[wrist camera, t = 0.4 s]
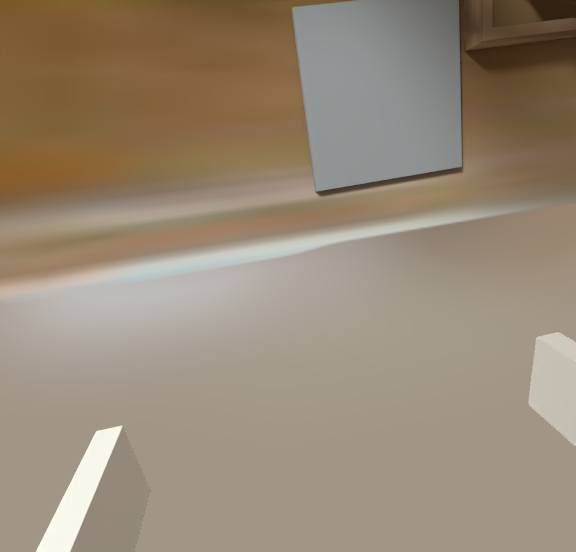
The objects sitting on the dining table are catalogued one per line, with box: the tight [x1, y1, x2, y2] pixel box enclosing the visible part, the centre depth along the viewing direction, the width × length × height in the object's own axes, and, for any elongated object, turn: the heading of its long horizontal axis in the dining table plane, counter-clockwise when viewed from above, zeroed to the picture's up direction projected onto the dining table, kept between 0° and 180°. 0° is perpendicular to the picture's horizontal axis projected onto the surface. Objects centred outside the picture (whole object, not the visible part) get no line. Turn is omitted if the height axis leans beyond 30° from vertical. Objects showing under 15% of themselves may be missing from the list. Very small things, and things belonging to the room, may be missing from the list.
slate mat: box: [291, 0, 462, 192], centre depth 34 cm, size 16×16×1 cm
